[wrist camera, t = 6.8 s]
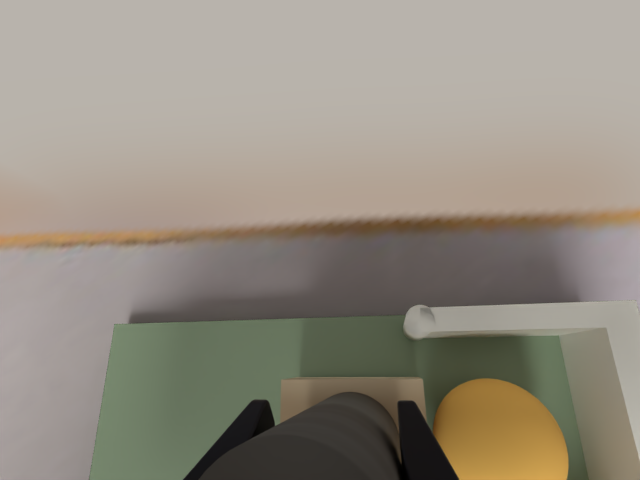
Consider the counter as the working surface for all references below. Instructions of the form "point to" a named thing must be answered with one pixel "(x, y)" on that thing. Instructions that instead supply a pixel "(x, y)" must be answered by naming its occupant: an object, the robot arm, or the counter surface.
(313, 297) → the counter surface
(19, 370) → the counter surface
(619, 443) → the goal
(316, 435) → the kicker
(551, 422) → the ball
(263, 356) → the board
